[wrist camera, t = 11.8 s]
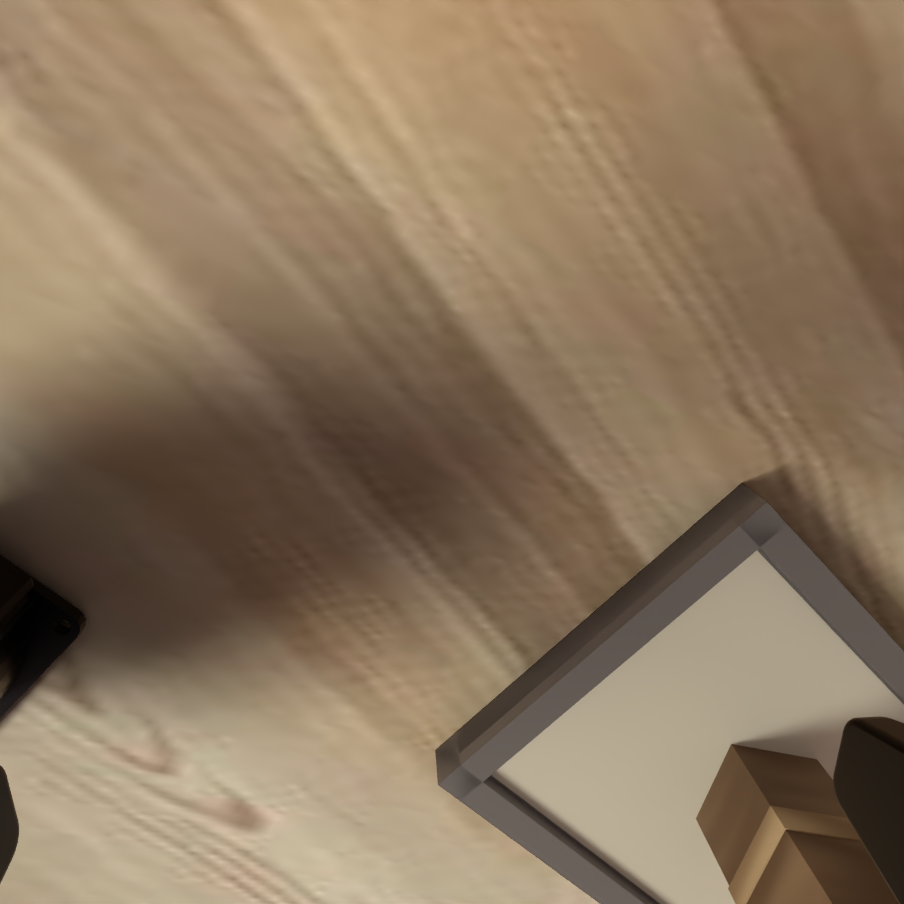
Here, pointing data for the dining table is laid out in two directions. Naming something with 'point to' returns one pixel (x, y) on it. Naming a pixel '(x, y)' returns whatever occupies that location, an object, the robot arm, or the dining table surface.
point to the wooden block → (785, 834)
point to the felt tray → (674, 706)
